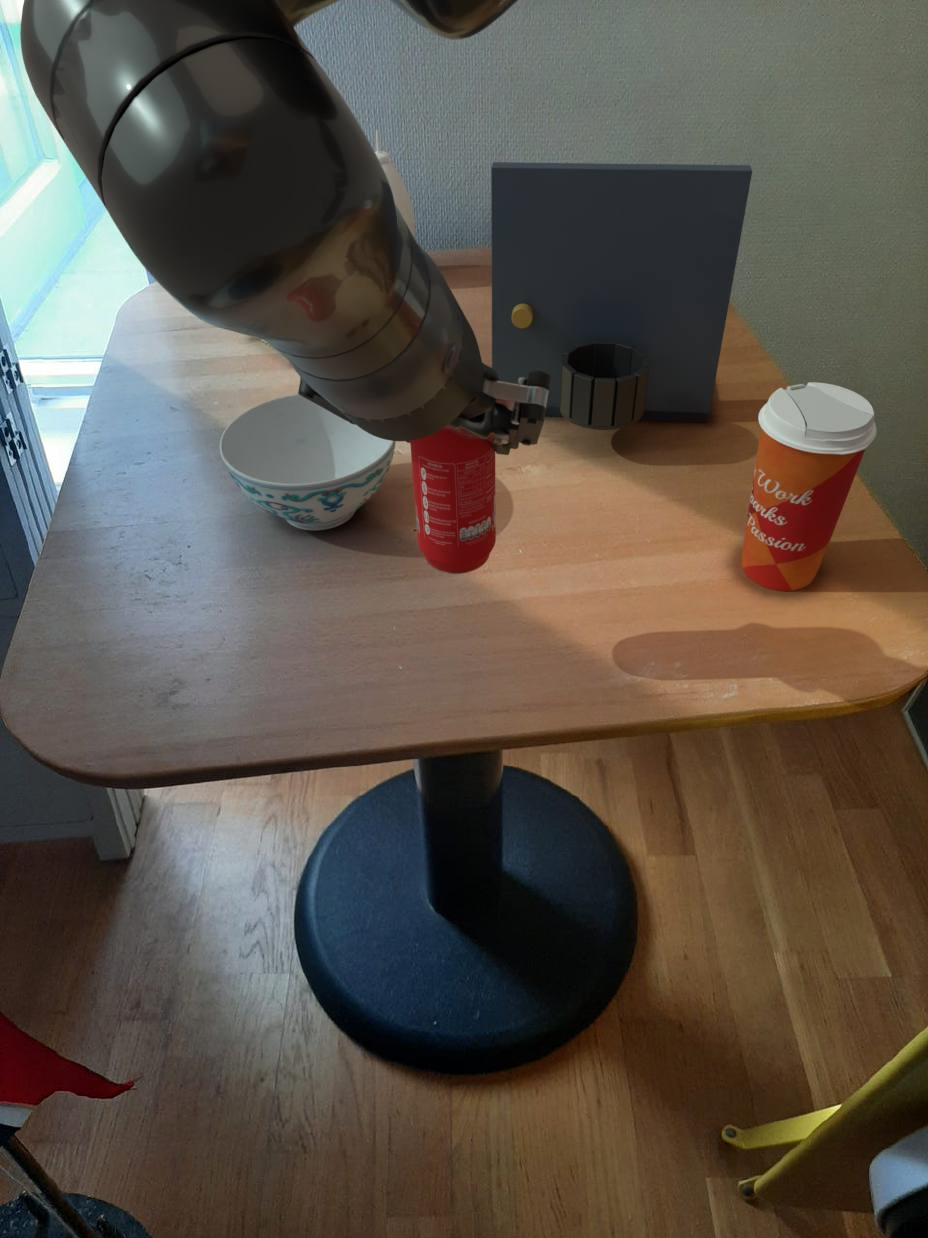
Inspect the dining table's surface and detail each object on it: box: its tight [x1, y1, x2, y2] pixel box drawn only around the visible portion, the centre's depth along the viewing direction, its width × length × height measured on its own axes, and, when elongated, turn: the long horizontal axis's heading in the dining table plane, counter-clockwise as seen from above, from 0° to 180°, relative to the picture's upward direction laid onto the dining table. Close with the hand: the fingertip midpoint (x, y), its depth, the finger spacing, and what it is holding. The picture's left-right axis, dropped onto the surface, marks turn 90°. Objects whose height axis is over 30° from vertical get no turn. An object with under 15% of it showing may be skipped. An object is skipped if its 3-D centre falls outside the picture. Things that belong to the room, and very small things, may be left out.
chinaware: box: [219, 393, 397, 531], centre depth 81 cm, size 15×15×8 cm
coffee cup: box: [741, 381, 878, 592], centre depth 71 cm, size 8×8×15 cm
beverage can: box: [409, 429, 497, 575], centre depth 58 cm, size 5×5×12 cm
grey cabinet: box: [490, 161, 753, 431], centre depth 87 cm, size 22×18×24 cm
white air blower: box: [374, 129, 416, 239], centre depth 116 cm, size 8×8×18 cm
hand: (460, 432), depth 58 cm, fingers closed on beverage can, 5 cm apart
